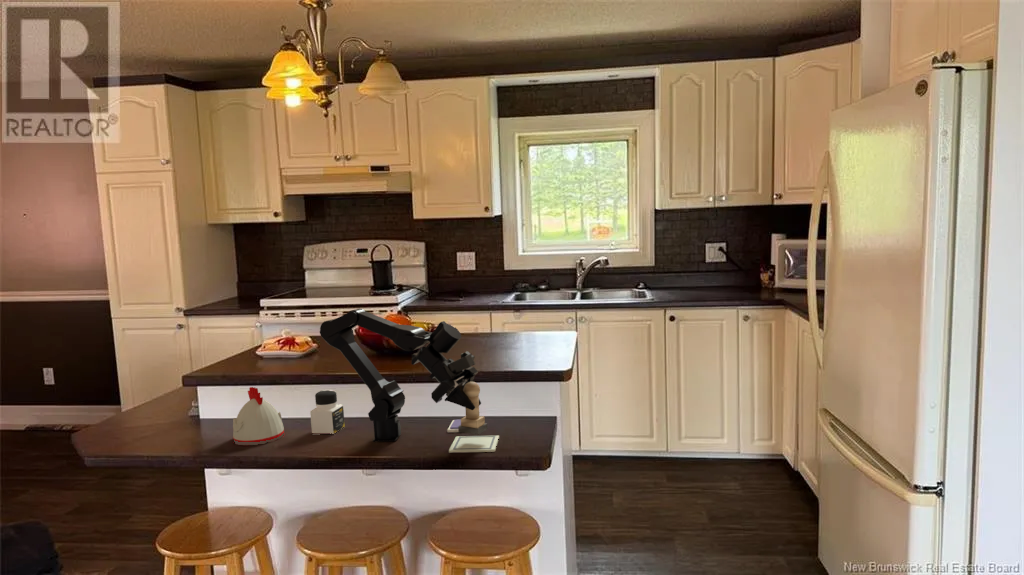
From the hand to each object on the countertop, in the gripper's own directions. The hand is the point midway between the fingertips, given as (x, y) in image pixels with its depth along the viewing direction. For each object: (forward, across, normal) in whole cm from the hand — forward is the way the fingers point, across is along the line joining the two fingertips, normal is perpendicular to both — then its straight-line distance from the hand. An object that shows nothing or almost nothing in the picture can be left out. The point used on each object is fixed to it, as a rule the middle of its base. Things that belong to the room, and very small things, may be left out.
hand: (477, 406), depth 172 cm
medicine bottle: (-27, +2, +43) cm, 51 cm away
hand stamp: (+4, 0, +6) cm, 7 cm away
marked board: (+6, 0, +8) cm, 11 cm away
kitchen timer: (-39, -7, +55) cm, 68 cm away
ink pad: (0, +14, +15) cm, 20 cm away
